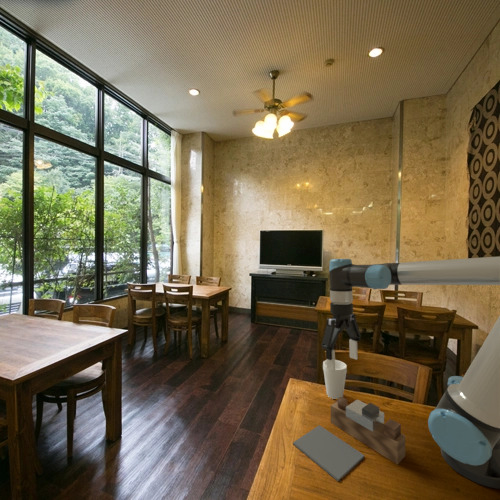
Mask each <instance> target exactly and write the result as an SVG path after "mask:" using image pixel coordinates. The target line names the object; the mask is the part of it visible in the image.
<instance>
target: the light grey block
mask: <svg viewBox="0 0 500 500" xmlns="http://www.w3.org/2000/svg"><path fill="white" fill-rule="evenodd" d="M347 405H348V406H347V407H346V417H348V418H350V419H352V420H353V421H355V422H357V423H359V424H360V425H362V426H364V427H366V428H367V429H369V430H371V431H372V432H373V431H374V430H376V429H377V428H378V427H379V426H380V425H381V424H385V412H383V411H381V410H380V407H379V406H377V405H375V404H374V403H371V402H369V403H368V404H367V403H365V402H363V401H361V400H359V399H356V400H354V401H353V402H351V403H350V404H347Z"/></svg>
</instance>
